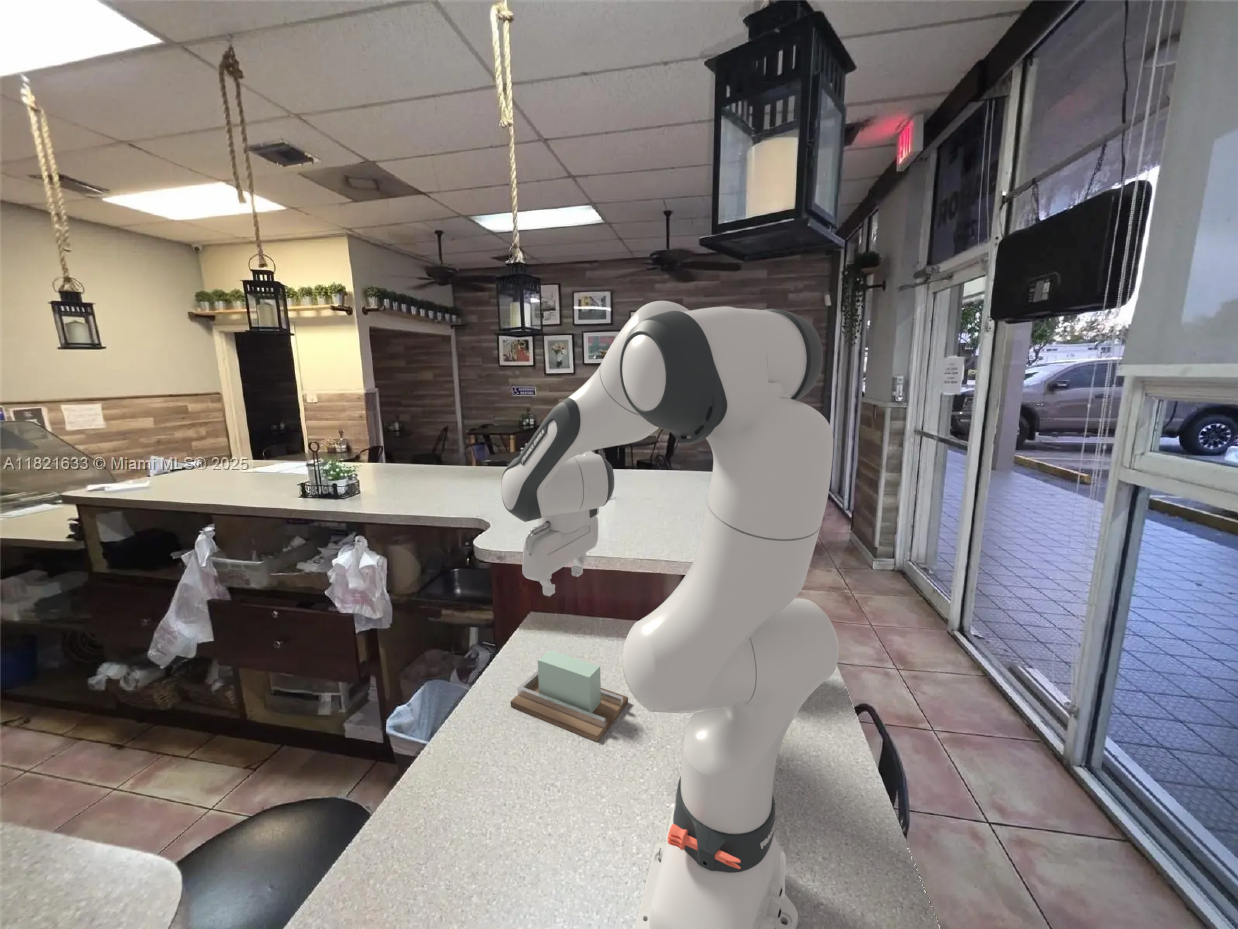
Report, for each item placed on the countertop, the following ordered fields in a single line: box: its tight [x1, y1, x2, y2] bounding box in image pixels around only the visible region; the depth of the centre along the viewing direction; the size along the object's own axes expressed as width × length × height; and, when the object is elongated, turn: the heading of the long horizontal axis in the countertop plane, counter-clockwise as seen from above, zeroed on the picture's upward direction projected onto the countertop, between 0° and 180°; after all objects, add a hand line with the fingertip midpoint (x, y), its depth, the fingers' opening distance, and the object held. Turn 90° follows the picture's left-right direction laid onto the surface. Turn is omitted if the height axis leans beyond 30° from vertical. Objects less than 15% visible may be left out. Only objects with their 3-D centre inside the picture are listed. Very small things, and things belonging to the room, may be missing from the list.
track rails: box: [517, 670, 623, 728], centre depth 98 cm, size 8×20×2 cm, turn 62°
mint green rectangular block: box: [537, 649, 602, 713], centre depth 97 cm, size 4×12×8 cm, turn 62°
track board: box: [510, 680, 629, 742], centre depth 98 cm, size 12×20×1 cm, turn 62°
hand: (563, 584), depth 95 cm, fingers open, 8 cm apart
